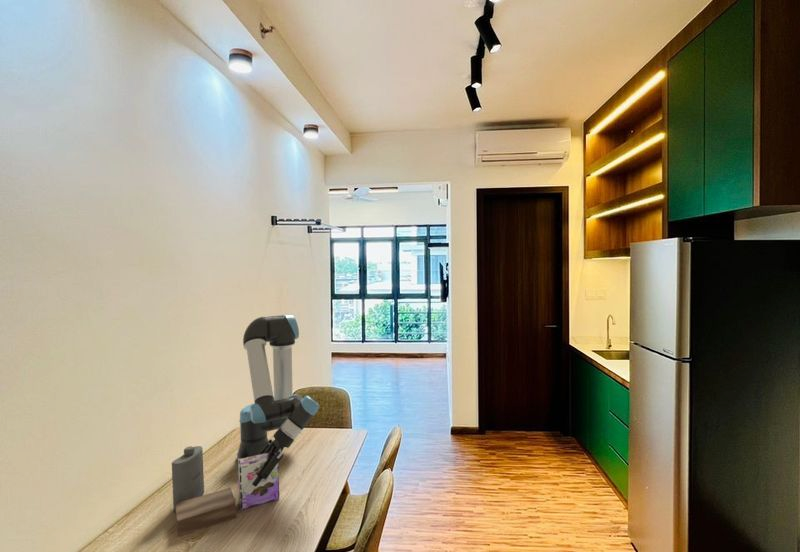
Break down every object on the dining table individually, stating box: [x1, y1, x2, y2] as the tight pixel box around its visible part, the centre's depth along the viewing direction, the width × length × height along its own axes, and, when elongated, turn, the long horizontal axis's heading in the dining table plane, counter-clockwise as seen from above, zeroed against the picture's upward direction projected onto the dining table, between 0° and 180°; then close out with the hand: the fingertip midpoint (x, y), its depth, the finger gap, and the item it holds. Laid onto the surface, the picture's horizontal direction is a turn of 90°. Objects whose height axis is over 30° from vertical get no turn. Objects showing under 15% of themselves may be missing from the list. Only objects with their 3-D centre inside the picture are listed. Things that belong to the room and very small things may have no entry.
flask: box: [171, 445, 205, 513], centre depth 152 cm, size 15×6×20 cm, turn 176°
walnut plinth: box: [175, 487, 237, 537], centre depth 141 cm, size 12×18×5 cm, turn 121°
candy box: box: [237, 453, 280, 510], centre depth 150 cm, size 14×6×16 cm, turn 117°
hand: (244, 487), depth 148 cm, fingers open, 7 cm apart
